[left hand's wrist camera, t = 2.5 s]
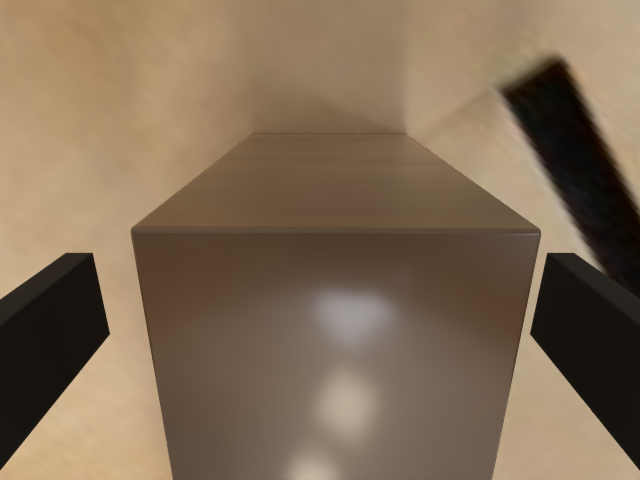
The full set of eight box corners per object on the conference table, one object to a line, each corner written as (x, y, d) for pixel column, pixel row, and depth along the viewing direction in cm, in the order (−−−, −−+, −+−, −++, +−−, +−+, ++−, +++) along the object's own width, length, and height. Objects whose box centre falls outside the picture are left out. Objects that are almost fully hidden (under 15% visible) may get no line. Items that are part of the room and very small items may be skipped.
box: (250, 133, 17) (127, 228, 6) (407, 133, 17) (544, 229, 6) (274, 540, 26) (238, 866, 15) (377, 542, 26) (414, 870, 15)
